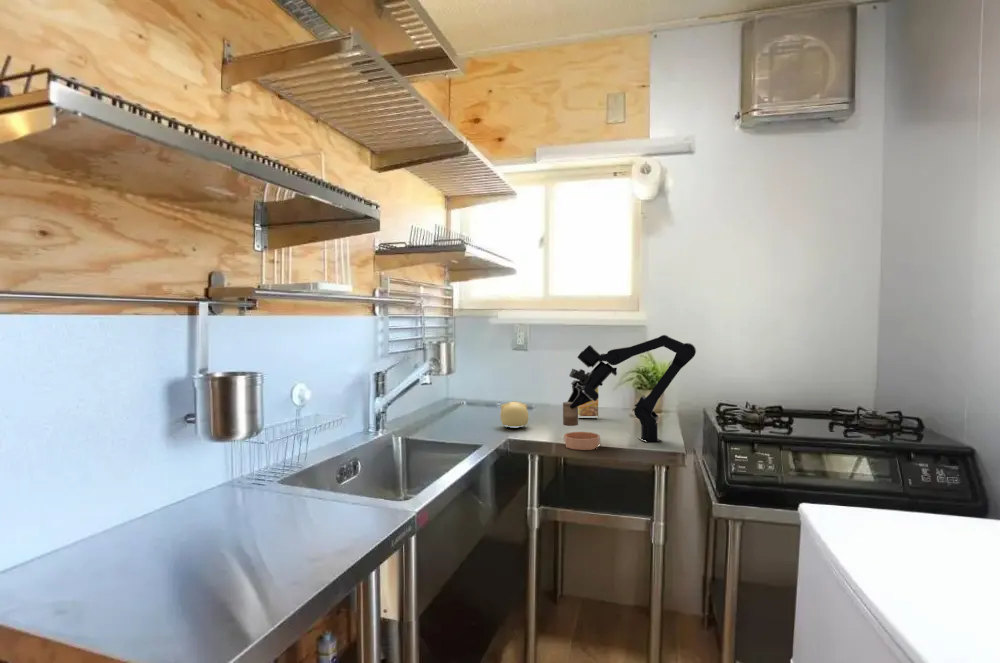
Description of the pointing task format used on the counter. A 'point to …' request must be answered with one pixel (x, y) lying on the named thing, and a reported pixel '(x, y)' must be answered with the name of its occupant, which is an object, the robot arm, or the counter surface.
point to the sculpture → (514, 414)
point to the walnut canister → (570, 414)
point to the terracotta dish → (581, 440)
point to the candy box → (589, 408)
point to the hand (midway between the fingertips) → (568, 406)
